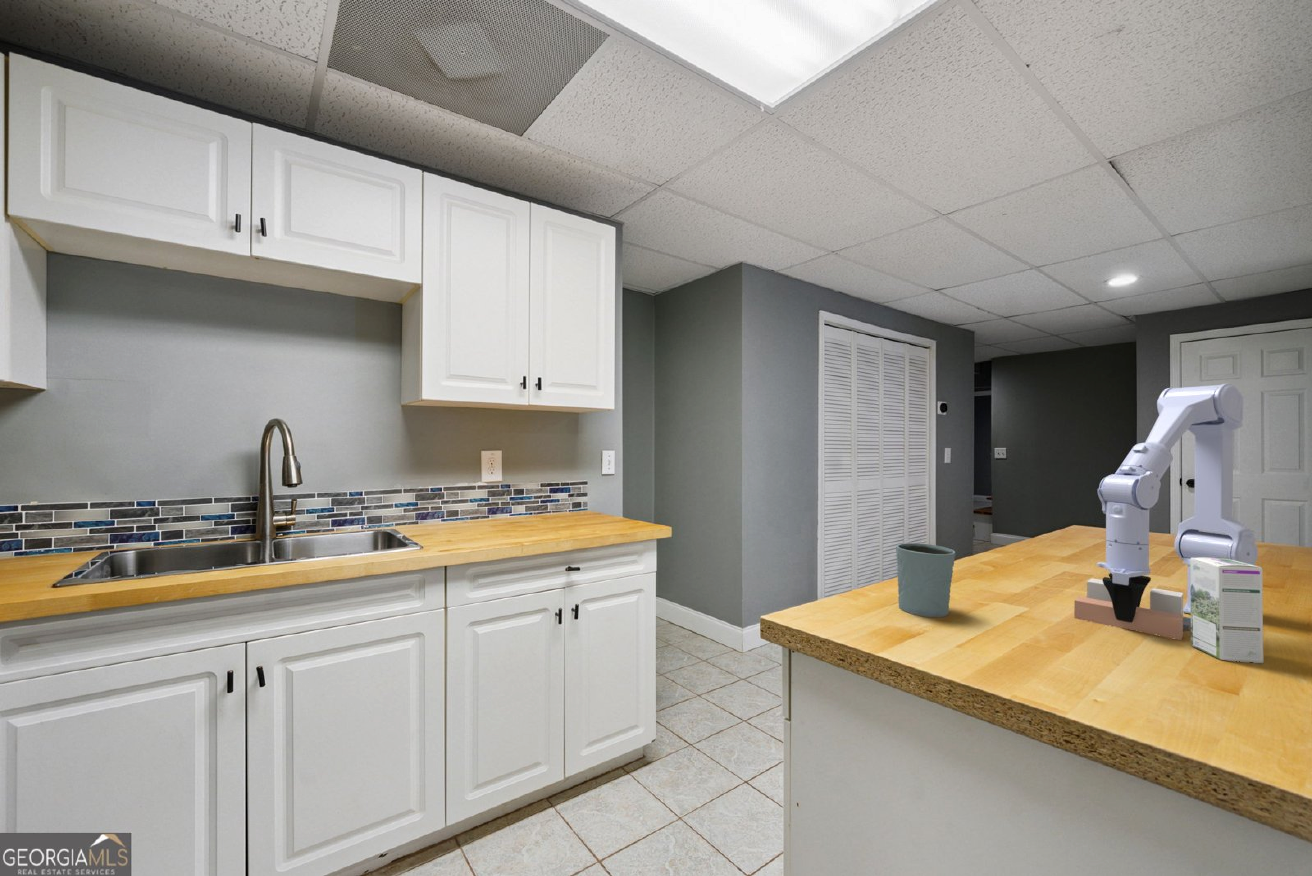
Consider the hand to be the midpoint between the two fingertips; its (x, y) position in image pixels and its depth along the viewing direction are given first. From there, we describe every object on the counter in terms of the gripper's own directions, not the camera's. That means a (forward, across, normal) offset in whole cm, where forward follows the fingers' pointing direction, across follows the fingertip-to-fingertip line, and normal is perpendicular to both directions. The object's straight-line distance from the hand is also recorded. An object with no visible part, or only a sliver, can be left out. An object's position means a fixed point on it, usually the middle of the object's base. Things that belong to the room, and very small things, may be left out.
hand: (1126, 618), depth 93 cm
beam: (+2, 0, 0) cm, 2 cm away
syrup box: (+2, +5, +12) cm, 13 cm away
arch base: (+1, -8, 0) cm, 8 cm away
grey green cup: (+2, +19, -27) cm, 33 cm away
